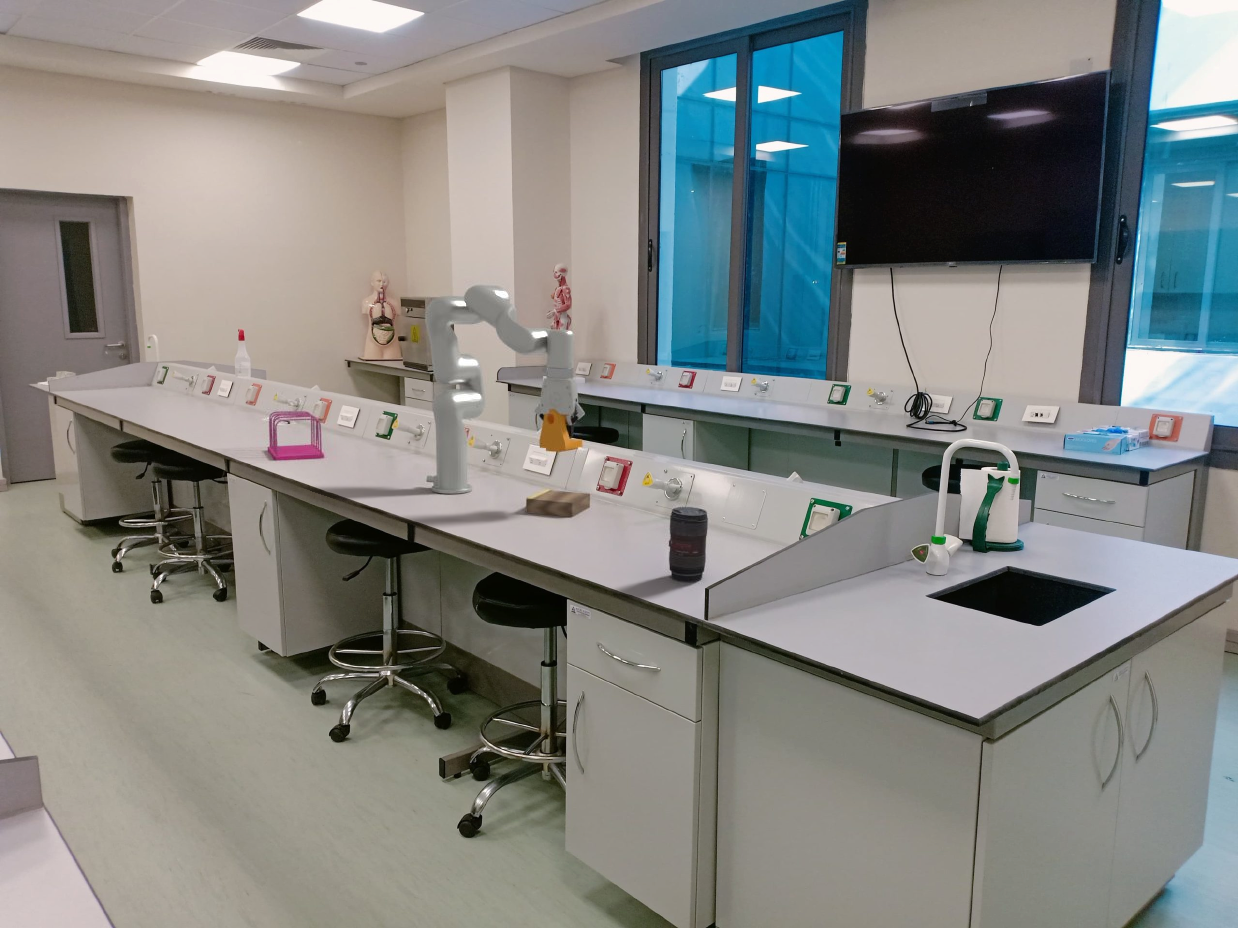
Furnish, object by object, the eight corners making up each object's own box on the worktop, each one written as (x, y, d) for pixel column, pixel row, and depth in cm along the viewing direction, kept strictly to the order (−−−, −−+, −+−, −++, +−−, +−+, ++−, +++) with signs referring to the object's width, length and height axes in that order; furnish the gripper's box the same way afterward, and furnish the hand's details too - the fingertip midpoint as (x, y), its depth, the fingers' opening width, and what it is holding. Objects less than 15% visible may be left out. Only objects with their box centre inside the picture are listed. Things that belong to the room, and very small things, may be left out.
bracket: (584, 449, 256) (581, 407, 254) (565, 452, 250) (563, 409, 249) (558, 447, 263) (556, 406, 261) (539, 450, 258) (537, 408, 256)
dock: (526, 512, 255) (526, 497, 254) (545, 502, 268) (545, 489, 268) (572, 517, 251) (572, 502, 250) (589, 507, 264) (590, 493, 263)
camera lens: (675, 584, 191) (678, 515, 189) (663, 573, 199) (665, 507, 196) (711, 582, 193) (714, 513, 191) (697, 571, 201) (699, 505, 198)
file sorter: (314, 448, 359) (312, 409, 357) (324, 458, 337) (323, 416, 335) (267, 451, 351) (265, 411, 349) (274, 461, 330) (273, 418, 327)
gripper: (526, 373, 252) (526, 437, 255) (583, 376, 247) (582, 441, 250) (537, 371, 259) (536, 434, 262) (593, 374, 254) (592, 438, 257)
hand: (559, 437), depth 256 cm, fingers closed on bracket, 5 cm apart
